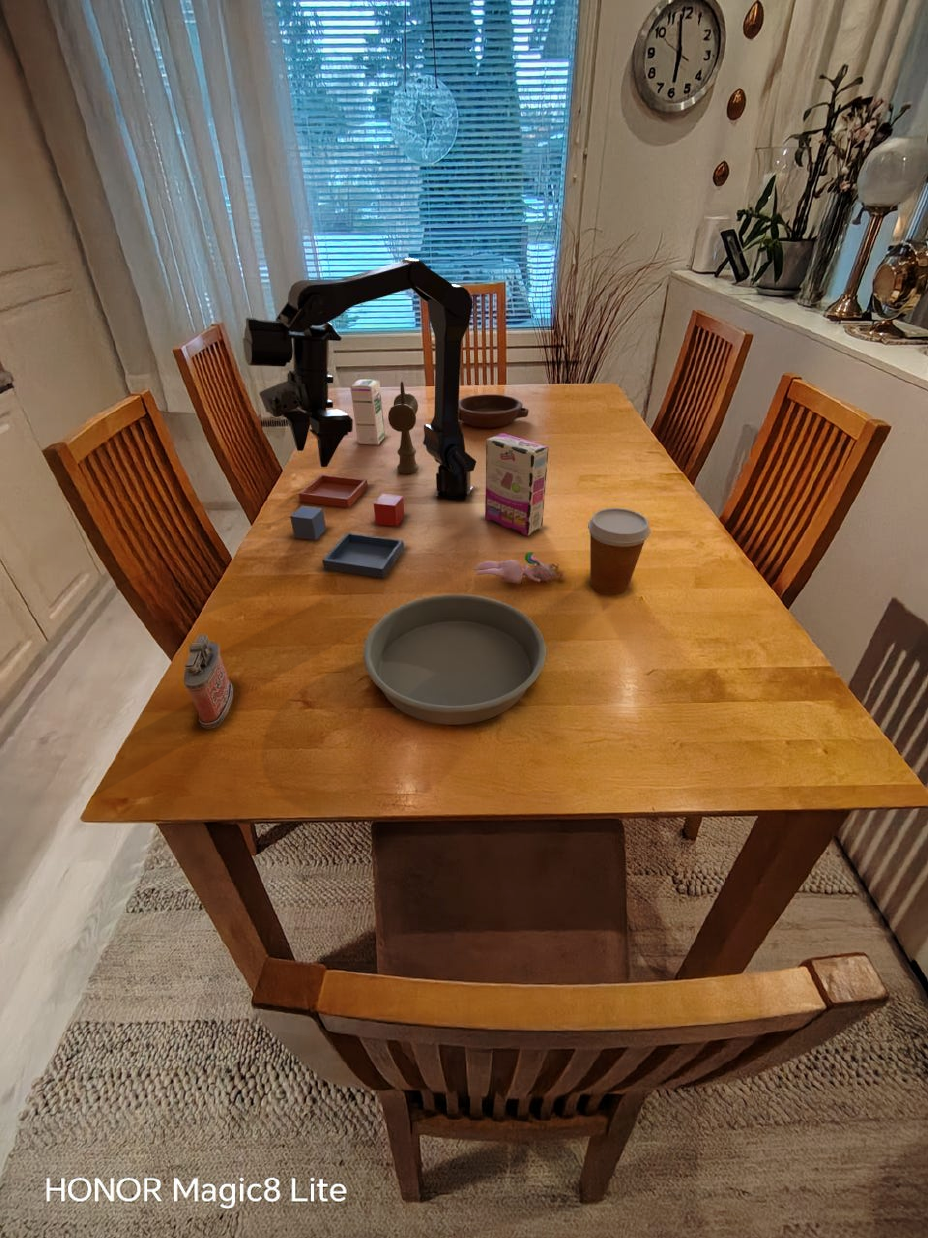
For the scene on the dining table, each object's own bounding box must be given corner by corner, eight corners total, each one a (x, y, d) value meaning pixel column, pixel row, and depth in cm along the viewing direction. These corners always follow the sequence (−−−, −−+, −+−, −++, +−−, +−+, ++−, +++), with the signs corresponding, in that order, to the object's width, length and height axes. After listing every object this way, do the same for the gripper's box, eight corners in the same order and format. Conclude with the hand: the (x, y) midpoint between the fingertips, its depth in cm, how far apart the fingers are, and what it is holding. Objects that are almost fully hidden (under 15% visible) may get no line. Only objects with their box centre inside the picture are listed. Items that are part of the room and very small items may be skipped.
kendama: (393, 479, 133) (385, 388, 121) (397, 462, 141) (390, 375, 129) (419, 479, 133) (414, 387, 121) (422, 462, 141) (417, 375, 129)
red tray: (368, 487, 130) (367, 479, 129) (348, 507, 122) (347, 499, 121) (322, 482, 132) (320, 474, 131) (300, 501, 125) (298, 493, 123)
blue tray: (404, 549, 108) (403, 539, 107) (383, 578, 101) (382, 568, 100) (348, 541, 111) (347, 532, 110) (323, 569, 103) (322, 559, 102)
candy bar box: (543, 528, 114) (550, 445, 105) (527, 537, 112) (533, 453, 102) (499, 510, 121) (502, 431, 111) (483, 518, 118) (484, 438, 108)
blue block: (326, 529, 115) (322, 508, 112) (315, 540, 111) (311, 519, 109) (305, 526, 116) (301, 505, 113) (294, 537, 112) (289, 516, 110)
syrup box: (378, 445, 150) (372, 386, 141) (356, 443, 151) (349, 385, 142) (385, 437, 154) (380, 379, 146) (364, 435, 155) (357, 378, 147)
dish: (532, 431, 157) (533, 412, 154) (449, 432, 157) (449, 414, 154) (524, 410, 171) (525, 392, 168) (448, 411, 171) (448, 393, 167)
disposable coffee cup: (604, 607, 94) (615, 541, 86) (569, 578, 100) (576, 514, 93) (650, 591, 97) (665, 526, 90) (613, 564, 104) (624, 501, 96)
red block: (404, 516, 119) (403, 495, 116) (396, 526, 115) (395, 505, 113) (384, 513, 120) (382, 493, 117) (375, 524, 116) (373, 503, 114)
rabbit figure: (551, 573, 104) (469, 570, 100) (560, 544, 100) (475, 539, 97) (562, 593, 99) (476, 590, 95) (571, 563, 96) (482, 559, 92)
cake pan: (573, 711, 76) (577, 686, 73) (384, 755, 70) (380, 729, 67) (508, 604, 94) (509, 580, 92) (354, 632, 89) (351, 608, 86)
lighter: (212, 685, 80) (190, 627, 74) (237, 683, 80) (218, 625, 74) (195, 729, 74) (170, 670, 68) (223, 727, 74) (201, 668, 68)
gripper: (241, 355, 100) (247, 446, 108) (290, 381, 88) (293, 481, 97) (302, 355, 106) (303, 441, 115) (355, 380, 95) (352, 473, 103)
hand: (311, 458), depth 107 cm, fingers open, 9 cm apart
